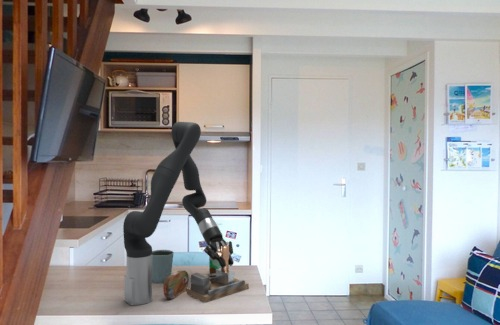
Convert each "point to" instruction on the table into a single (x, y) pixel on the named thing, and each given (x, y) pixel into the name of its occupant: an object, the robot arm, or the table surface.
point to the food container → (213, 266)
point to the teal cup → (161, 265)
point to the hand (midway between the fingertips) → (228, 265)
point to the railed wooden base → (213, 287)
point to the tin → (175, 284)
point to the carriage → (225, 269)
